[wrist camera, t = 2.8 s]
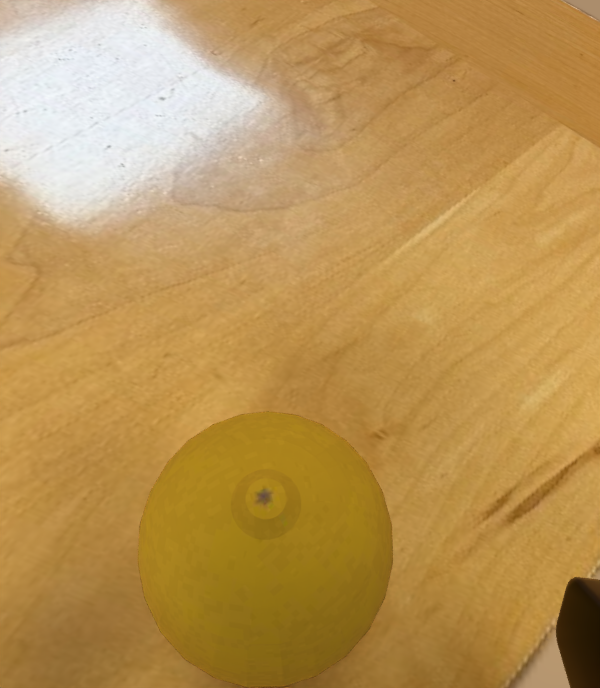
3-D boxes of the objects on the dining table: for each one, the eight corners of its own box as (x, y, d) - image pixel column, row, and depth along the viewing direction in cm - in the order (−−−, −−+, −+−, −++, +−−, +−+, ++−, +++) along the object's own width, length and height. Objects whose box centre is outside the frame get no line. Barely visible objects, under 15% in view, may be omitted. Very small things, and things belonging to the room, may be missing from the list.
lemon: (280, 442, 18) (286, 301, 11) (404, 585, 16) (502, 519, 9) (131, 559, 16) (29, 475, 9) (250, 737, 14) (232, 795, 8)
